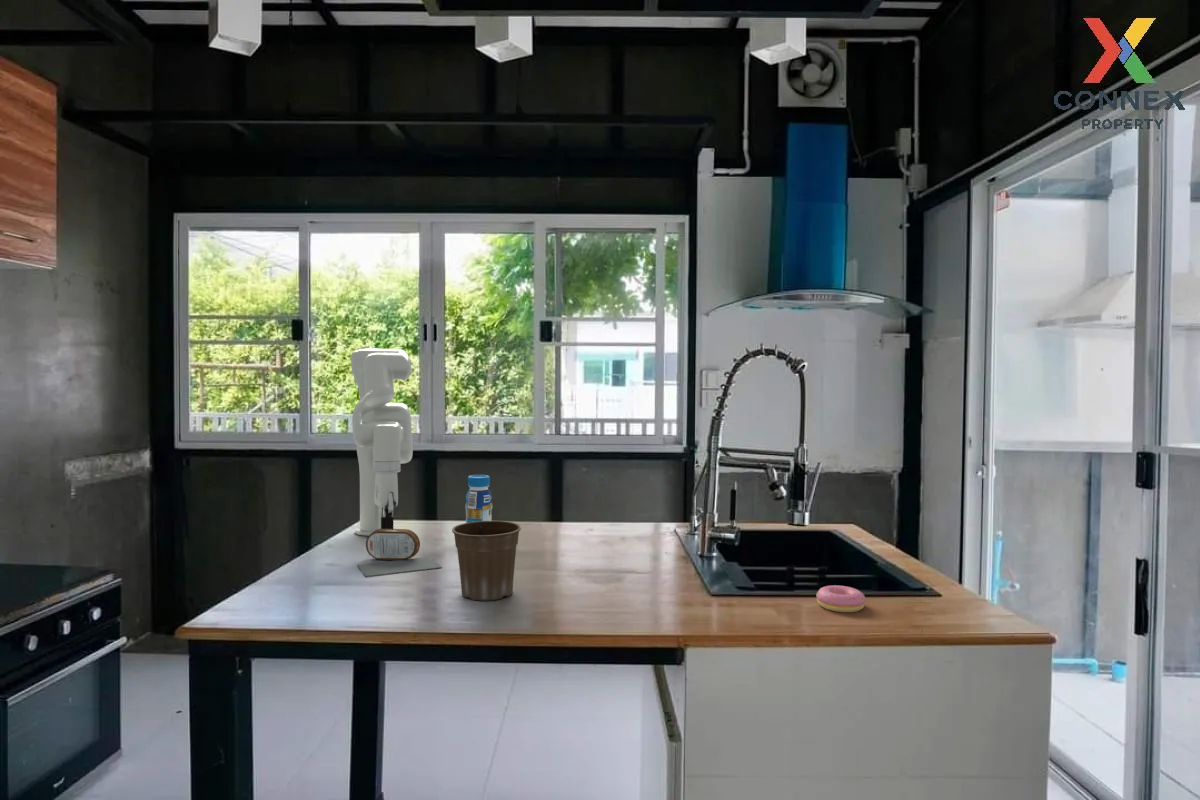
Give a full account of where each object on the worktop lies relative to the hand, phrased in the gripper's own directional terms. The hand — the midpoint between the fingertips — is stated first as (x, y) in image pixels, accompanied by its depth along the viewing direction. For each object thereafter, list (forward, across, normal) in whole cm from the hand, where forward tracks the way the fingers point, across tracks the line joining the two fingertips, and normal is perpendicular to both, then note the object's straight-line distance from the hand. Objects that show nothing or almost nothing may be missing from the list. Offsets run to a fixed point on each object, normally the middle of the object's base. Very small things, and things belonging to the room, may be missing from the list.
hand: (387, 530), depth 216 cm
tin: (+7, +6, 0) cm, 10 cm away
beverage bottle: (+7, -8, +30) cm, 32 cm away
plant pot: (+8, +47, +13) cm, 50 cm away
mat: (+7, +14, 0) cm, 16 cm away
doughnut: (+9, +92, +83) cm, 125 cm away
